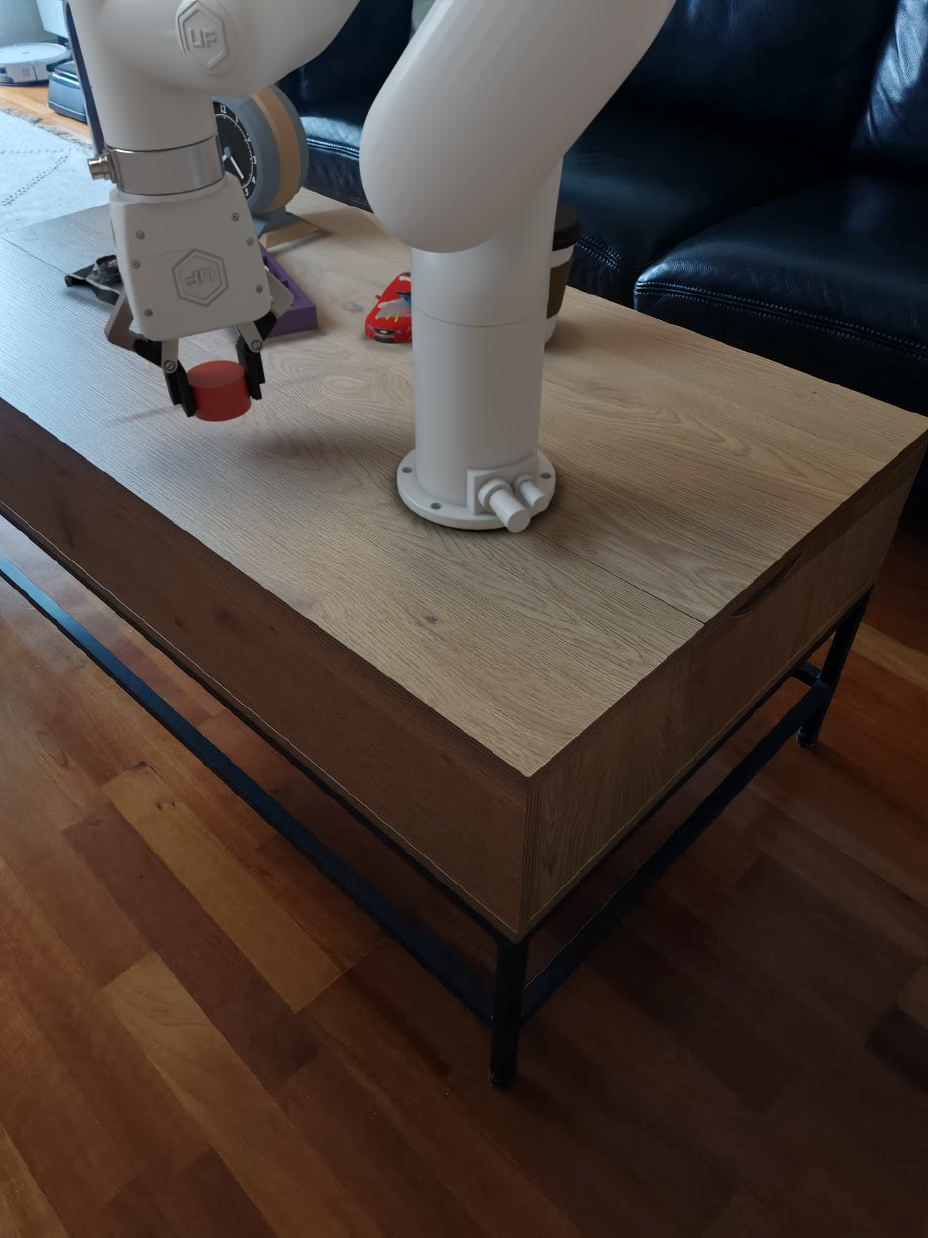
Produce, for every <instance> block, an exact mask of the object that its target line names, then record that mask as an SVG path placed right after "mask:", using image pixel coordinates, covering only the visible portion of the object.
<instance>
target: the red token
mask: <svg viewBox="0 0 928 1238" xmlns="http://www.w3.org/2000/svg"><path fill="white" fill-rule="evenodd" d="M186 373H187V377H188V381H189V385H190V390H191V394H192V398H193V402H194V406H195V410H196V414H194V416H193V417H195V418H197V419H198V420H201V421H204V422H210V423H211V422H212V423H221V422H227V421H232V420H235V419H238V418H240V417H242V416H244V415H245V414H247V412H249V410H250V409H251V407H252V405H253V404H252V403H253V402H252V397H251V396H250V392H249V387H248V382H247V377H246V372H245V369H244V367H243V366H242V365H241V364H239V362H237V361H233V360H226V359H224V360H223V359H222V360H221V359H220V360H219V359H218V360H210V361H207V362H206V361H205V362H202V363H200V364H197V365H195V366H193V367H191V368H190V369H188V370H187V371H186Z"/></svg>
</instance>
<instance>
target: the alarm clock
mask: <svg viewBox="0 0 928 1238" xmlns="http://www.w3.org/2000/svg"><path fill="white" fill-rule="evenodd" d="M211 97H212V103H213V108H214V113H215V119H216V124H217V131H218V135H219V140H220V146H221V151H222V157H223V162H224V167H225V171H227V172H229V173H231V174H233V175H234V176H236V177H237V178H238V179H239V182H240V184H241V187H242V189H243V192H244V195H245V198H246V201H247V204H248V207H249V210H250V213H251V216H252V220H253V223H254V227H255V231H256V235H257V238H258V241H259V242H260V243H261V244H262V245H263V246H264V248H265V249H266V250H268V249H270V248H274V247H277V246H279V245H281V244H284V243H288V242H289V241H292V240H295V239H297V238H300V237H303V236H305V235H308V234H310V233H313V232H315V231H319V230H320V228H318V227H316V226H314V225H312V222H309V221H307V220H306V219H304V218H303V217H300V216H299V215H297V214H295V213H293V212H290V211H287V208H286V206H287V205H288V204H290V202H292V200H293V199H294V197H295V196H296V195H297V194H298V193H300V191H301V189H302V186H303V184H304V182H305V180H306V178H307V176H308V170H309V165H310V149H309V143H308V137H307V133H306V130H305V127H304V124H303V121H302V119H301V117H300V115H299V113H298V111H297V109H296V107H295V105H294V103H292V101H291V100H290V99H289V97H288V96H287V95H286V93H285V92H283V91H282V90H281V89H280V88H279V87H277V86H276V85H275V84H274V83H273V84H272V85H270V86H268V87H267V88H265V89H263V90H262V91H260V92H257V93H255V94H253V95H249V96H246V97H239V98H226V97H218V96H213V95H211Z"/></svg>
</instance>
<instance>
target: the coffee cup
mask: <svg viewBox="0 0 928 1238" xmlns="http://www.w3.org/2000/svg"><path fill="white" fill-rule="evenodd" d="M584 233H585V226H584V224H583V223H582V221H581V215H579V213H578V212H577V210H576V208H574V207H573V206H571V205H569V204H567V203H565V202H563V201H560V200H558V201H557V208H556V216H555V225H554V234H553V245H552V256H551V270H550V284H549V298H548V303H547V316H546V331H545V344H547V343H548V342H549V340H550V338H552V335H553V333H554V331H555V327H556V323H557V318H558V315H559V313H560V311H561V308H562V305H563V301H564V297H565V293H566V288H567V284H568V280H569V276H570V272H571V267H572V264H573V259H574V255H575V253H574V247H575V245H576V244H578V243H579V242H580V241H581V239H582V237H583V235H584Z"/></svg>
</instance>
